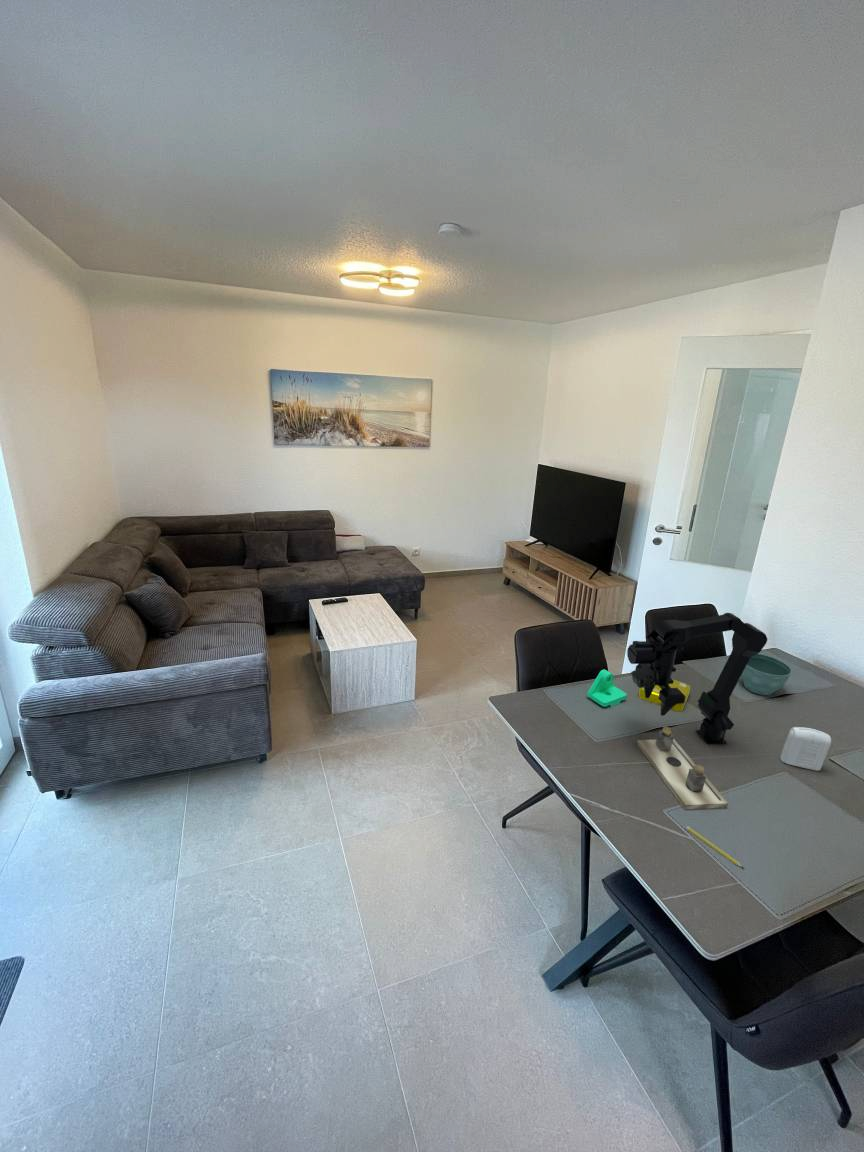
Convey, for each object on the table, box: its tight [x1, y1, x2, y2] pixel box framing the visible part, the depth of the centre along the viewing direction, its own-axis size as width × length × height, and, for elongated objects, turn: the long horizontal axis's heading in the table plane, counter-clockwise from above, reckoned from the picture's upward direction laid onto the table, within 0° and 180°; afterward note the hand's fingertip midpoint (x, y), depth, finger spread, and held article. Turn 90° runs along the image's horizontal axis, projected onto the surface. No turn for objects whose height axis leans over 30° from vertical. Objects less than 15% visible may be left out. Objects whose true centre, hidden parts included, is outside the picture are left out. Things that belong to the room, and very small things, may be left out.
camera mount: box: [586, 669, 628, 708], centre depth 176 cm, size 12×8×10 cm, turn 120°
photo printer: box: [779, 726, 832, 772], centre depth 148 cm, size 10×4×12 cm, turn 73°
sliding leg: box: [656, 726, 675, 751], centre depth 150 cm, size 3×3×7 cm
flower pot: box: [740, 653, 793, 696], centre depth 187 cm, size 16×16×11 cm
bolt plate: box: [636, 738, 729, 811], centre depth 142 cm, size 12×26×8 cm, turn 6°
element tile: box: [637, 678, 691, 712], centre depth 181 cm, size 15×15×5 cm
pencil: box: [684, 825, 743, 868], centre depth 120 cm, size 1×14×1 cm, turn 35°
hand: (654, 706), depth 154 cm, fingers open, 9 cm apart
